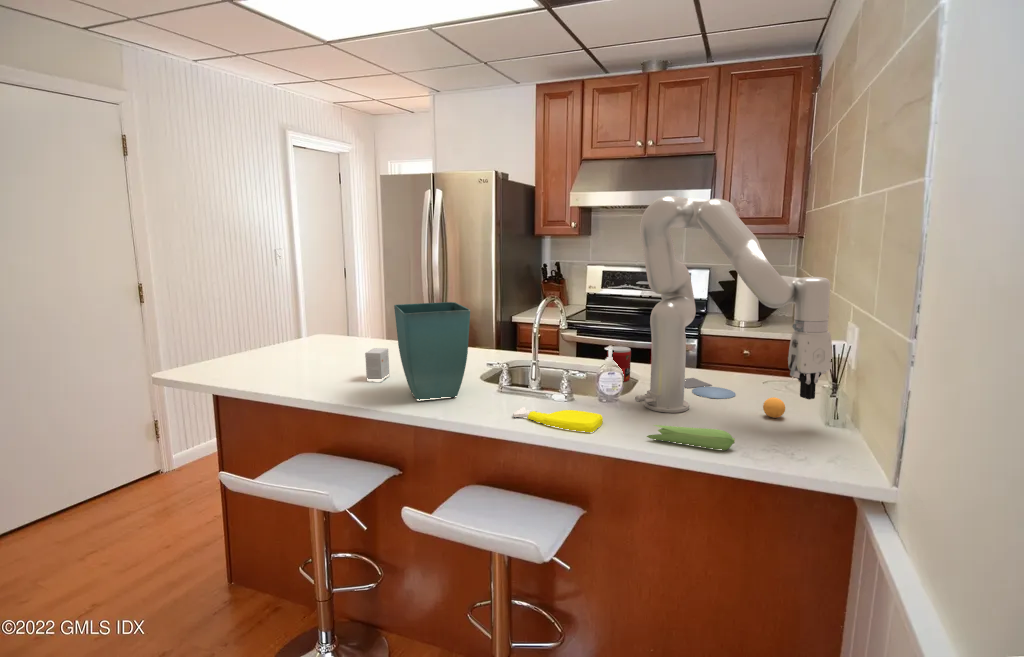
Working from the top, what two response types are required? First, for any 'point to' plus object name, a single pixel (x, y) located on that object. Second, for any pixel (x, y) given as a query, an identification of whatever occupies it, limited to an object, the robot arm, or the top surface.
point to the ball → (774, 407)
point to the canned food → (623, 360)
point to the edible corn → (695, 436)
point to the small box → (377, 363)
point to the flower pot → (433, 347)
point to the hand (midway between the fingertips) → (807, 397)
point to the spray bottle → (564, 419)
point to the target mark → (714, 392)
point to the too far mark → (694, 383)
